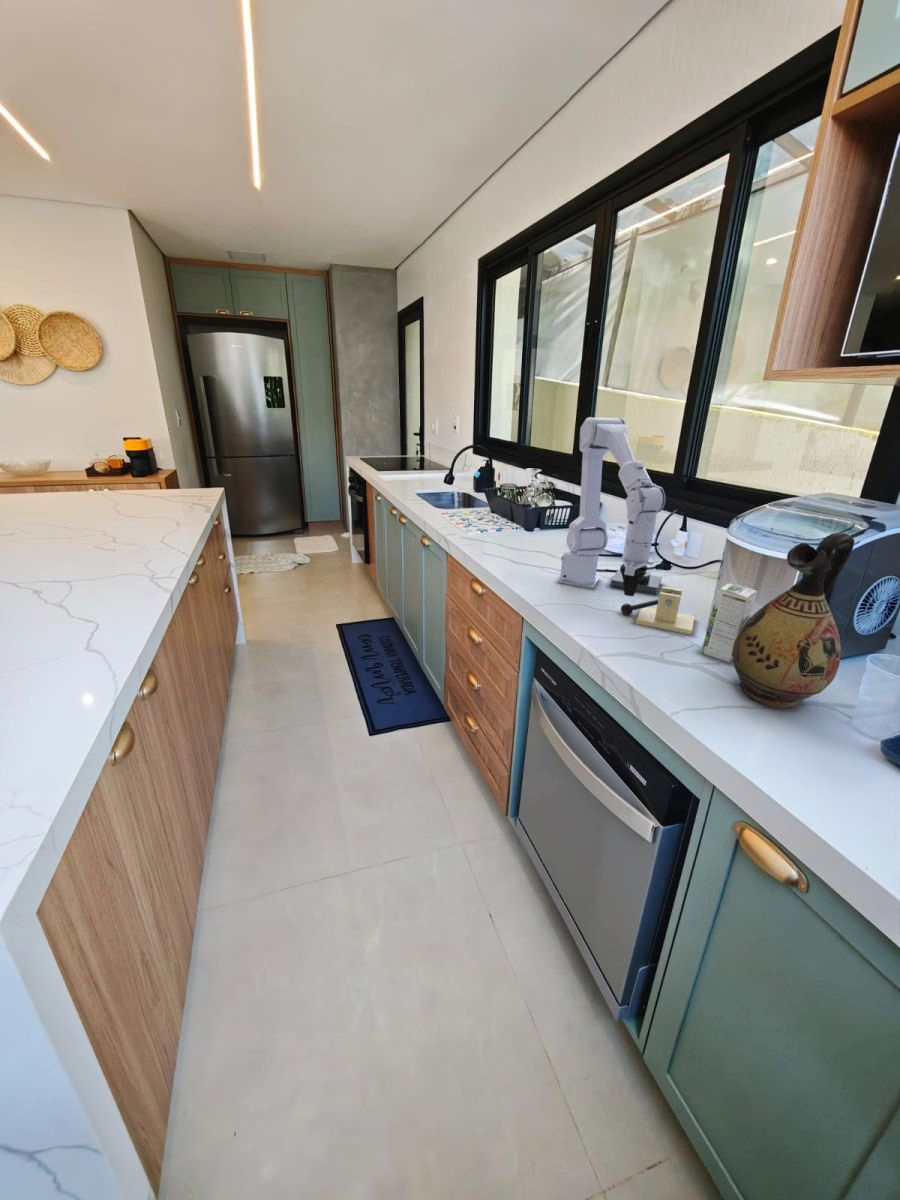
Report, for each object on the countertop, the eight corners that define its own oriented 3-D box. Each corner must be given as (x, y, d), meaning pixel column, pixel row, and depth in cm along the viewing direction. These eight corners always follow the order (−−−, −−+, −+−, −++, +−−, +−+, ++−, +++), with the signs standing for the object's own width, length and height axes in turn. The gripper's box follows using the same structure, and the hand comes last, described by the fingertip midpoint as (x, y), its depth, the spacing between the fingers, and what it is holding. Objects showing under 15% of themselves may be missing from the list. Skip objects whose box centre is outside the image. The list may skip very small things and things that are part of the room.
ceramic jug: (783, 729, 81) (843, 551, 70) (705, 681, 94) (744, 525, 83) (848, 706, 88) (913, 540, 76) (766, 665, 101) (811, 517, 89)
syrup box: (710, 644, 108) (726, 581, 103) (740, 654, 105) (758, 589, 99) (700, 653, 105) (716, 588, 99) (730, 663, 101) (748, 597, 95)
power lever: (622, 617, 122) (618, 607, 121) (624, 613, 124) (620, 603, 124) (677, 604, 115) (673, 593, 114) (678, 600, 117) (674, 589, 117)
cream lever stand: (635, 623, 118) (640, 592, 115) (641, 610, 125) (646, 581, 122) (691, 635, 112) (698, 603, 110) (693, 620, 120) (700, 590, 117)
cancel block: (610, 587, 139) (612, 573, 138) (617, 576, 148) (619, 563, 146) (656, 595, 134) (658, 581, 133) (660, 584, 143) (663, 570, 141)
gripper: (652, 550, 108) (642, 608, 113) (660, 535, 120) (650, 588, 125) (619, 545, 111) (610, 602, 116) (630, 531, 122) (621, 583, 128)
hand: (629, 594), depth 121 cm, fingers closed
